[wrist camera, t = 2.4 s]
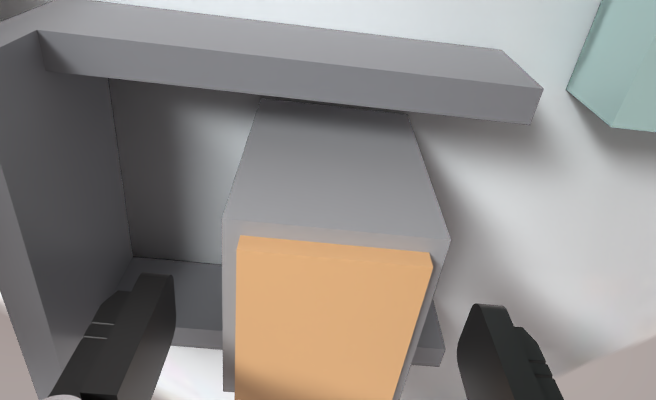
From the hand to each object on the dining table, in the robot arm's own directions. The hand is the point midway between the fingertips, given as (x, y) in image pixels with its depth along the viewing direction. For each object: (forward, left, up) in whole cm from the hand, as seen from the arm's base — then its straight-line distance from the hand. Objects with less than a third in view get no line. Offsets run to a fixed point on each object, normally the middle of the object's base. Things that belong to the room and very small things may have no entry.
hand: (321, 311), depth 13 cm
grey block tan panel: (0, 0, -6) cm, 6 cm away
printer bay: (0, -2, -6) cm, 6 cm away
